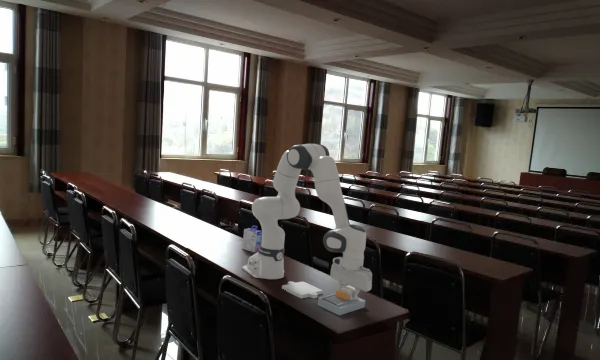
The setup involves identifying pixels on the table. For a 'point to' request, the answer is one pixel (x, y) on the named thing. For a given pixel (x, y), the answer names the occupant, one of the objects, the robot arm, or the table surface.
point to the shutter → (338, 298)
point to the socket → (341, 305)
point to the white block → (349, 291)
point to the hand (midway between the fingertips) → (348, 294)
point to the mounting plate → (302, 289)
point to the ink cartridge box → (252, 239)
